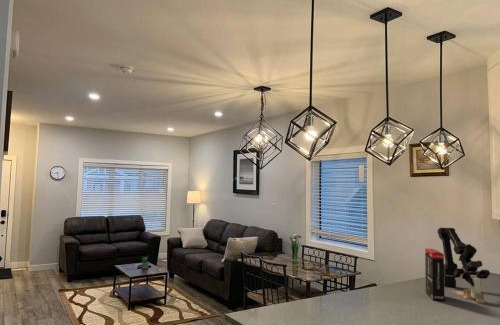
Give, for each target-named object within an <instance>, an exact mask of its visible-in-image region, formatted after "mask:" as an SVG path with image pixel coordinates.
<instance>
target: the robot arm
mask: <svg viewBox="0 0 500 325" xmlns="http://www.w3.org/2000/svg"><path fill="white" fill-rule="evenodd" d="M437 235H438V237H439V239H440V240H441V241H442V248H443V254H444V288H445V287H447V288H454V289H455V288H456V287H457V280H456V279H458V278H460V277H461V279H463V280H464V281H466V282H467V283H468V284H469V285H470V286H471V285H472V286H473V287H474V283H473V281H472V279H471V277H472V276H474V277H477V278H480V279H481V280H486V279H488V278H489V276H490V275H491V272H490V270H489V269H480V271H478V270H479V268H482V267H483V262H482V260H476V261H475V260H472V259H473V258H474V256H475V255H476V253H477V251H478V250H477V248H476V247H474V246H472V244H471V243H470V244H466V243H464V242H462V240H461V239H460V237H459V235H458V233H457V232H456V229H455V228H454V227H439V228H438V229H437ZM451 242H452V243H451ZM451 244H453V251H454V253H455V255H459V256H458V262H459V261H460V263H461V265H462V266H461V268H460V267H459V268H458V264H457V263H456V262H454V258H453V251H452V246H451Z"/></svg>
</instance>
